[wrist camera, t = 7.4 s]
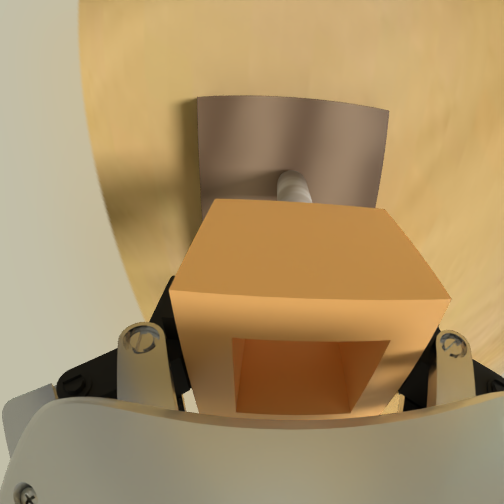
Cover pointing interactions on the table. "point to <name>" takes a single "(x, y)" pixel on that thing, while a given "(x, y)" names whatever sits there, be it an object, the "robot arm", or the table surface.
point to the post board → (289, 150)
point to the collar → (302, 310)
